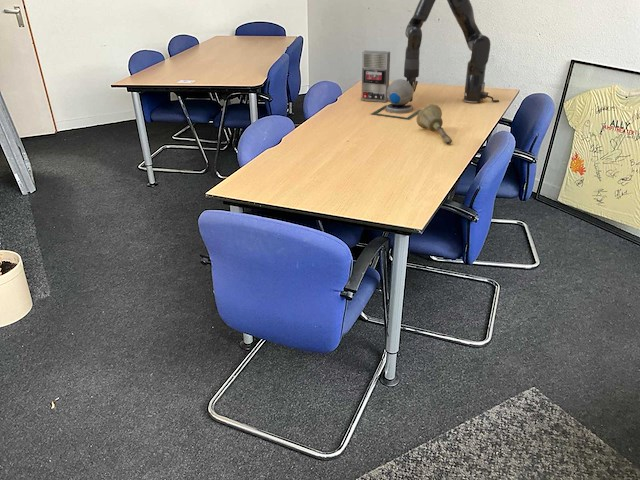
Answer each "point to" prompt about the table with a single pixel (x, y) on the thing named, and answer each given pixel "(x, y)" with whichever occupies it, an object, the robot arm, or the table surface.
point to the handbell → (432, 120)
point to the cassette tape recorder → (375, 75)
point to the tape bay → (394, 116)
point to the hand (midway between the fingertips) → (410, 101)
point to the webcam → (399, 96)
